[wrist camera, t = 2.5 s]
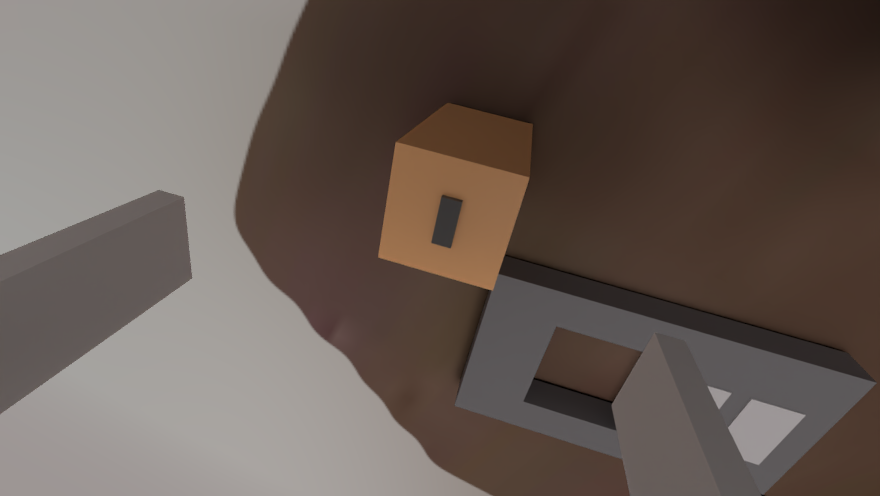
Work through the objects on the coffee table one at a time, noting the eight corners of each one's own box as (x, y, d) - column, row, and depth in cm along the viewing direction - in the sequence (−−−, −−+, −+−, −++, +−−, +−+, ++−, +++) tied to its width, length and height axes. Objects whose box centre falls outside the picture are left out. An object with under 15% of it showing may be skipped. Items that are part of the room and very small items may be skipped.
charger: (447, 102, 24) (393, 143, 15) (532, 124, 23) (529, 179, 15) (430, 183, 26) (375, 260, 17) (508, 204, 26) (492, 294, 17)
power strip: (500, 254, 28) (497, 274, 25) (848, 353, 26) (878, 384, 23) (459, 381, 33) (454, 406, 31) (740, 469, 31) (756, 503, 29)
